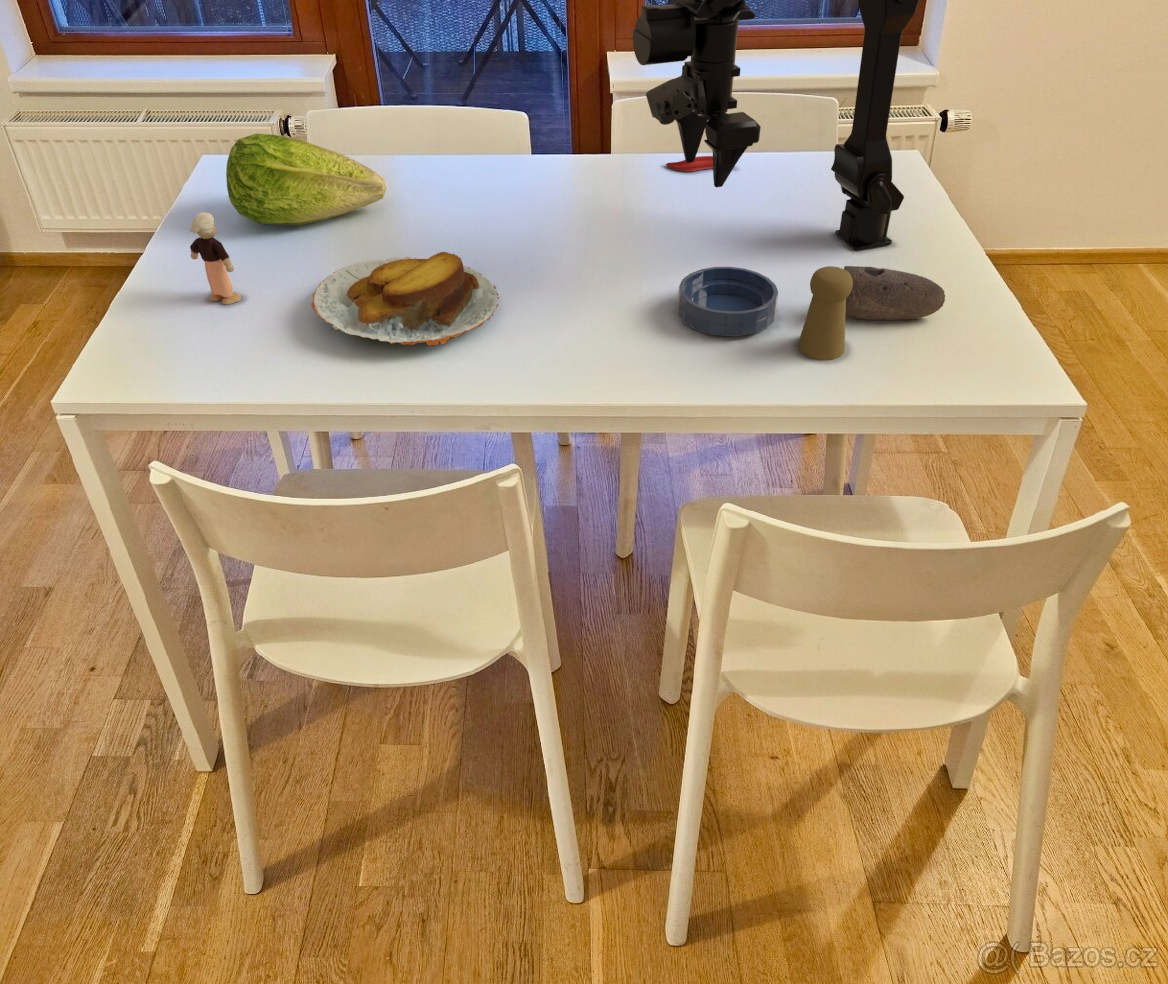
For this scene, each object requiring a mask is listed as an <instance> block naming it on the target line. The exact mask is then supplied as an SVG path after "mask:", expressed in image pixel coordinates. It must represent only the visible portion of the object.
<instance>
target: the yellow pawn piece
mask: <svg viewBox="0 0 1168 984" xmlns="http://www.w3.org/2000/svg"><path fill="white" fill-rule="evenodd" d="M852 286H853V280H852V277H851V275H850V273H849V272H848V271H846V270H844V268H842V267H839V266H823V267H820V268H818V269H816V270H815V271H814V272H813V274H812V275H811V278H810V281H809V288H810V292H811V294H812V296H811V299H810V303H809V307H808V311H807V313H806V316H805V320H804V323H803V326H802V329H801V333H800V336H799V340H798V343H797V349H798V351H799V352H800V353H801V354H803V355H804V356H806V357H807V358H811V359H813V360H818V361H830V360H831V361H832V360H836V359H838V358H840V357H842V356H843V355H844V354H845V346H846V316H845V313H846V298H847V297H848V296H849V294H850V292H851V290H852Z"/></svg>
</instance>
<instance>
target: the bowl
mask: <svg viewBox="0 0 1168 984" xmlns="http://www.w3.org/2000/svg"><path fill="white" fill-rule="evenodd" d="M778 297H779V290H778V287H777V285H776V283H774V282H773V281H772V280H771V279H770V278H769V277H768V276H766V275H763V274H761V273H760V272H757V271H754V270H751V269H747V268H744V267H735V266H712V267H707V268H701V269H698V270H696V271H692V272H690V273H689V274H687V275H686V276H685V277H683V279H681V281H680V283H679V285H678V296H677V312H678V317H679V318H680V319H681V320H682V321H683V322H684V324H685V325H687V326H689V327H691V328H692V329H694V330H696V331H699V332H703V333H706V334H709V335H715V336H721V337H742V336H747V335H752V334H756V333H759V332H761V331H764V330H765V329H768V327H769V326H770V325H772V323H773V322H774V320H775V317H776V313H777V305H778V299H779V298H778Z"/></svg>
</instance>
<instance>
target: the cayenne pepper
mask: <svg viewBox="0 0 1168 984" xmlns="http://www.w3.org/2000/svg"><path fill="white" fill-rule="evenodd" d="M665 166H666V167H667V168H669V169H672V170H676V171H679V172H695V171H700V170H706V169H708V170H709V169H713V155H701V156H696V157H695V159H694V162H692V163H687V162H686V161H685V159H684V160H679V161H674V162H673V161H672V162H667V163H665Z"/></svg>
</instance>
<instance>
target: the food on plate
mask: <svg viewBox="0 0 1168 984" xmlns="http://www.w3.org/2000/svg"><path fill="white" fill-rule="evenodd" d="M496 289H497V287H496V286H495V285H492V284H491V282H490V280H489V279H487V277H484V276H483V274H482V273H480V272H478V271H476V270H474V269H472V268H471V267H469V266H466V265H464V263H463V260H462V258H461V257H460V256H458V255H456V253H450V252H448V251H440V252H437V253H435V254H433V255H431V256H429V257H428V258H416V257H412V258H411V257H409V256H404V257H403V256H402V257H397V256H396V257H390V258H386V259H373V260H366V261H365V260H364V261H359V262H356V263H354V264H351V265H348V266H344V267H341V268H340V269H337V270H335V271H333V272H332V273H331V274H329V275H328V276H327V277H326V278H324V279H323V280H322V281H321V282H320V283H319V284H318V286H317V288H316V289H315V291H313V293H312V302H311V308H312V309H313V311H314V312H315V313H317V314H316V315H317V317H319V318H321V319H323V320H324V322H325V323H327V324H331V325H332V326H331V328H333V329H334V330H335V331H338V330H340V332H344V333H345V334H348V335H351V336H359V337H361V338H369V339H371V340H378V341H379V342H388V343H390V344H391V345H393V344H395V343H398V344H401V345H410V346H411V345H414V346H415V345H416V344H418V343H425V344H426V345H427V346H435V345H438V344H439V343H440V344H441V345H444V344H447V343H448V340H450V339H451V338H457V337H459V336H461V335H462V334H463V333H464V332H465V333H466V334H468V331H469V332H470V331H473V330H474V329H476V328H478V327H482V326H483V324H485V322H486V321H489V320H490V319H491V316H492V317H494V313H495V310H496V309H497V307H499V304H498V300H499V299H500V296H499V293H498V291H497V290H496Z"/></svg>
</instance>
